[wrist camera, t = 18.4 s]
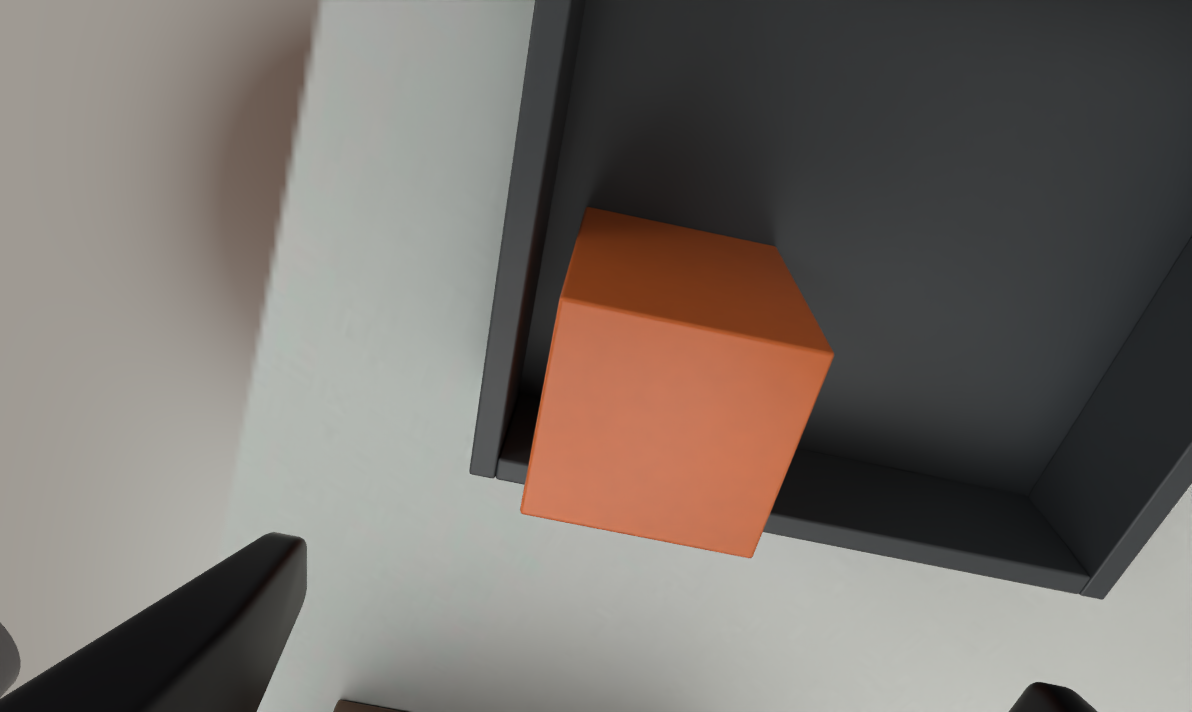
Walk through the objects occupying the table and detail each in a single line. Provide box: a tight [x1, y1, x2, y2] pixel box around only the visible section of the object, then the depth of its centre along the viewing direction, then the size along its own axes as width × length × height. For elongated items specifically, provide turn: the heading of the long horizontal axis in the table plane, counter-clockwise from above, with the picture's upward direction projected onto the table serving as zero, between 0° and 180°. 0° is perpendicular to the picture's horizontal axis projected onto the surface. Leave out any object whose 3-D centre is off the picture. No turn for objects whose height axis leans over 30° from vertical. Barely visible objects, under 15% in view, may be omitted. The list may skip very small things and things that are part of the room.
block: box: [520, 207, 834, 558], centre depth 14 cm, size 4×4×6 cm
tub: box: [469, 0, 1192, 599], centre depth 14 cm, size 15×13×4 cm
